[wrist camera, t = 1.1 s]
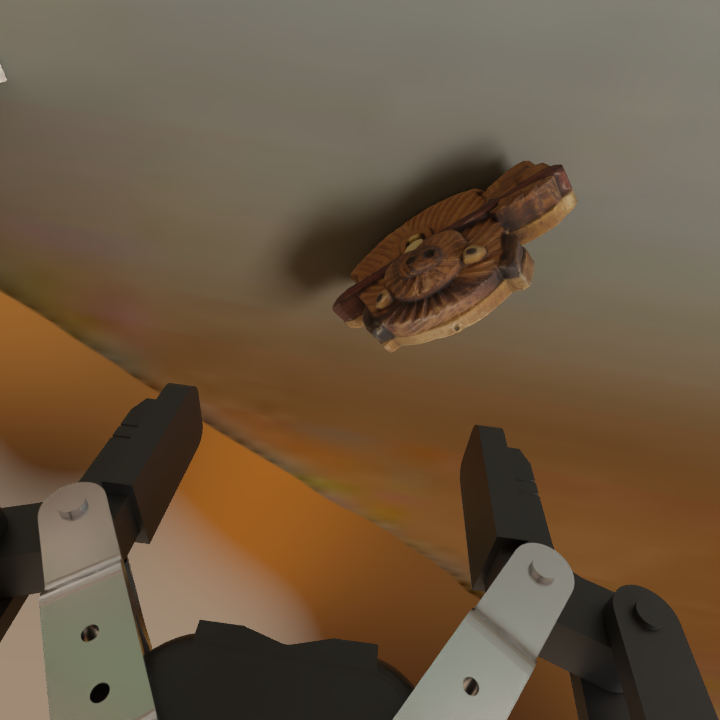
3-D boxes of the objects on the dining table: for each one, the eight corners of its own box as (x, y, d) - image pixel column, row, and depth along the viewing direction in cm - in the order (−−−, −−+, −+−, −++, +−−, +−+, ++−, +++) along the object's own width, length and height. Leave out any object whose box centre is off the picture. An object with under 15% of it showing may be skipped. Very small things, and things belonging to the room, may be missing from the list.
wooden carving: (528, 115, 28) (577, 173, 20) (562, 174, 30) (617, 247, 23) (328, 266, 35) (310, 349, 28) (366, 305, 38) (359, 393, 30)
